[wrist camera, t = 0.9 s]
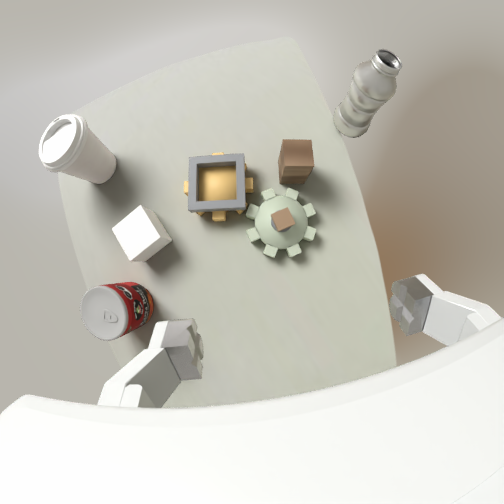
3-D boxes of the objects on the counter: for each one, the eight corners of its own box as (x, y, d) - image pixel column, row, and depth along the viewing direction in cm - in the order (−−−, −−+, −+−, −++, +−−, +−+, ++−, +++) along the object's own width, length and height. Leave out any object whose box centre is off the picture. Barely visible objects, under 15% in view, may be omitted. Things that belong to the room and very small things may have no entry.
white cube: (128, 233, 44) (111, 228, 38) (154, 211, 44) (140, 204, 38) (145, 261, 44) (130, 261, 38) (172, 240, 44) (160, 237, 38)
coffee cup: (127, 142, 45) (88, 104, 30) (118, 191, 44) (71, 165, 29) (88, 147, 45) (45, 116, 30) (79, 192, 44) (29, 171, 29)
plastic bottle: (343, 146, 44) (388, 82, 24) (323, 116, 44) (355, 43, 24) (370, 135, 44) (421, 75, 24) (350, 106, 44) (389, 39, 24)
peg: (303, 183, 44) (314, 165, 35) (279, 183, 44) (284, 165, 35) (302, 161, 44) (311, 139, 36) (278, 161, 44) (282, 139, 36)
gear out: (254, 220, 44) (254, 215, 39) (187, 222, 44) (180, 218, 39) (252, 156, 44) (251, 146, 40) (188, 160, 44) (182, 150, 40)
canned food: (157, 326, 43) (129, 343, 32) (116, 324, 43) (83, 338, 32) (153, 280, 44) (123, 285, 32) (112, 281, 44) (77, 285, 33)
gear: (324, 241, 43) (332, 238, 38) (262, 269, 43) (263, 269, 38) (296, 181, 44) (300, 171, 39) (235, 207, 44) (232, 199, 39)
